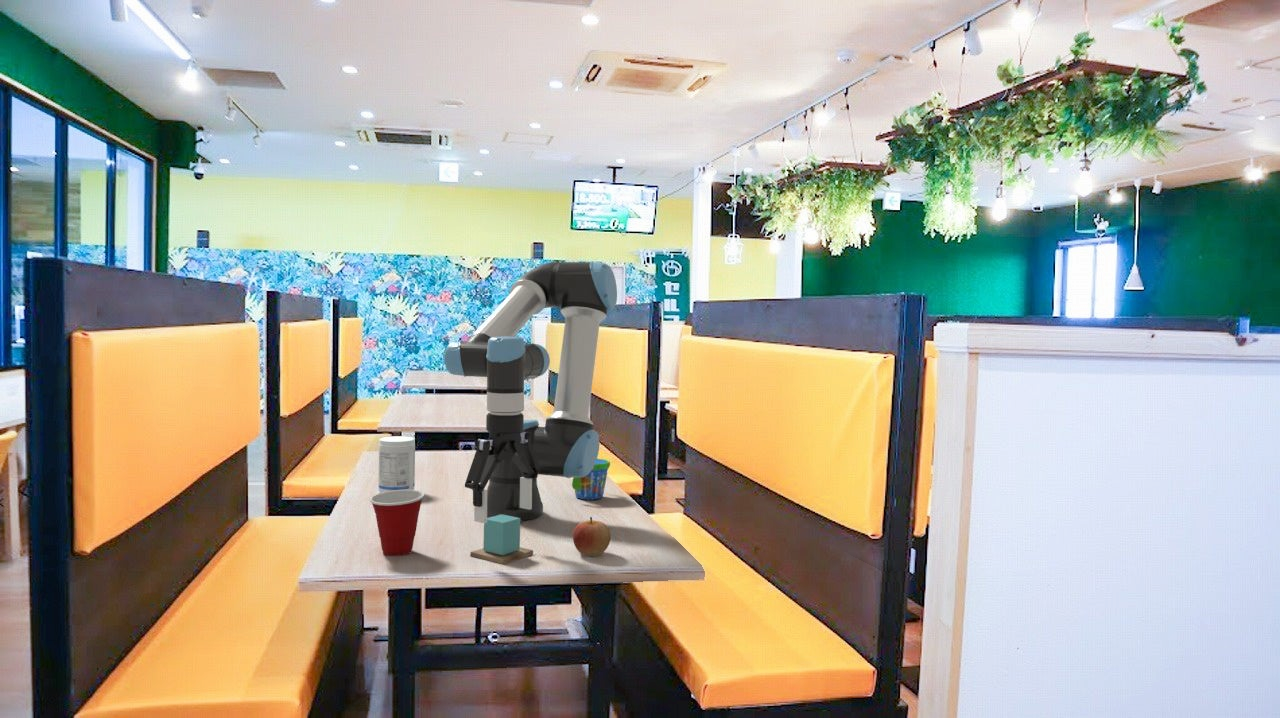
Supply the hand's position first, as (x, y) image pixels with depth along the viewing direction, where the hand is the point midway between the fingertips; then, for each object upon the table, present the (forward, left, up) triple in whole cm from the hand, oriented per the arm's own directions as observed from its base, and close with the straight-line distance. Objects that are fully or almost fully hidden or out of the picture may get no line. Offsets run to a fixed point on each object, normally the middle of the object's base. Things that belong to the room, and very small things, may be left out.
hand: (503, 515), depth 173 cm
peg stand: (0, 0, -8) cm, 8 cm away
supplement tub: (-27, -63, -8) cm, 69 cm away
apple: (-12, +14, -8) cm, 20 cm away
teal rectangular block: (+1, 0, -7) cm, 7 cm away
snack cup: (-55, -19, -8) cm, 59 cm away
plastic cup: (+12, -18, -8) cm, 23 cm away
